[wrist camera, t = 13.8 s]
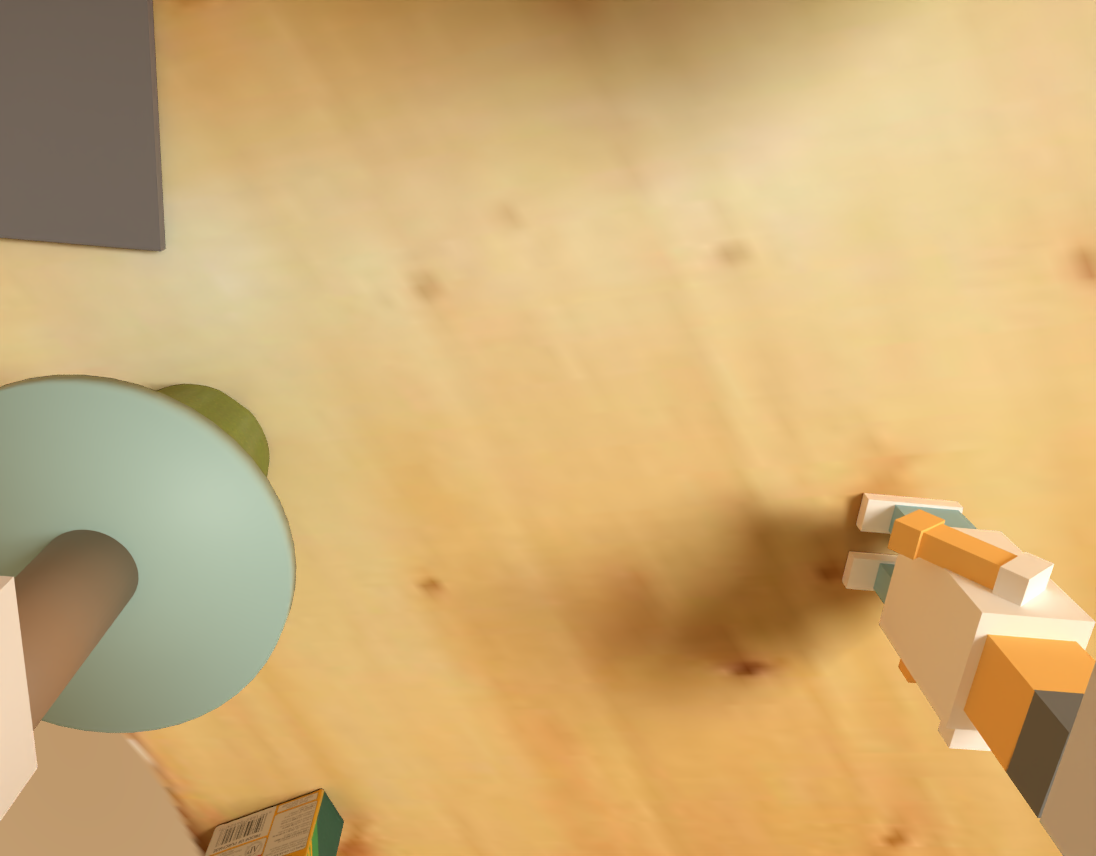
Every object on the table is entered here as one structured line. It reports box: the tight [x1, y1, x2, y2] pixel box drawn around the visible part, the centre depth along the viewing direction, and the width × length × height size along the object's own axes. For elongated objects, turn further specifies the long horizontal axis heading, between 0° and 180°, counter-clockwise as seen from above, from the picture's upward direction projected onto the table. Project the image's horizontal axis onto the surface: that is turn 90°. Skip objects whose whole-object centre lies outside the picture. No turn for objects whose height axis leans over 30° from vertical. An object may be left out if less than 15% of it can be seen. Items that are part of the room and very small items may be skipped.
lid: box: [0, 375, 296, 733], centre depth 32 cm, size 15×15×11 cm
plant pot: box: [157, 384, 269, 477], centre depth 42 cm, size 12×12×11 cm
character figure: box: [842, 493, 1096, 818], centre depth 42 cm, size 8×10×18 cm
